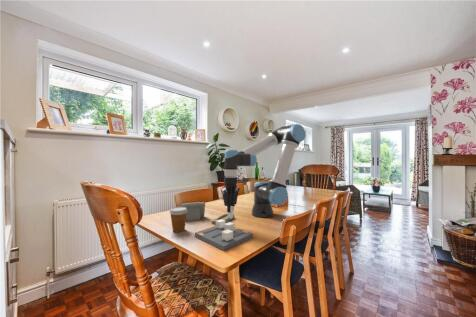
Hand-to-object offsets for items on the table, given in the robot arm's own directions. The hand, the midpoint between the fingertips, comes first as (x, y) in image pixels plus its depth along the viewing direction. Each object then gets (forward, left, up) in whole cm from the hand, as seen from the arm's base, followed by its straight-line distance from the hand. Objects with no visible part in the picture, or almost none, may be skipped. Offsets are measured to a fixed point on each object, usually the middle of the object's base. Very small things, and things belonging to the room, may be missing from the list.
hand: (230, 217), depth 117 cm
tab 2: (+8, +7, -4) cm, 11 cm away
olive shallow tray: (-5, -12, -7) cm, 15 cm away
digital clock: (+5, -30, -6) cm, 31 cm away
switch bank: (+12, +7, -6) cm, 15 cm away
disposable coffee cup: (+23, -18, -6) cm, 29 cm away
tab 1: (+8, 0, -4) cm, 8 cm away
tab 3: (+16, +14, -4) cm, 21 cm away
